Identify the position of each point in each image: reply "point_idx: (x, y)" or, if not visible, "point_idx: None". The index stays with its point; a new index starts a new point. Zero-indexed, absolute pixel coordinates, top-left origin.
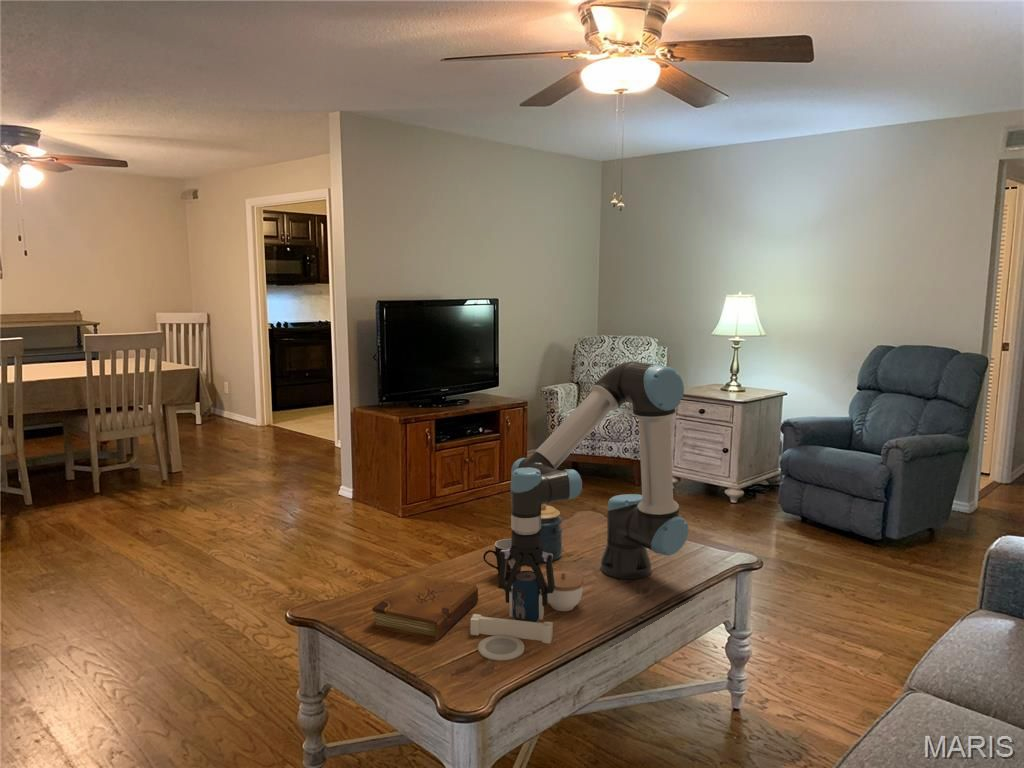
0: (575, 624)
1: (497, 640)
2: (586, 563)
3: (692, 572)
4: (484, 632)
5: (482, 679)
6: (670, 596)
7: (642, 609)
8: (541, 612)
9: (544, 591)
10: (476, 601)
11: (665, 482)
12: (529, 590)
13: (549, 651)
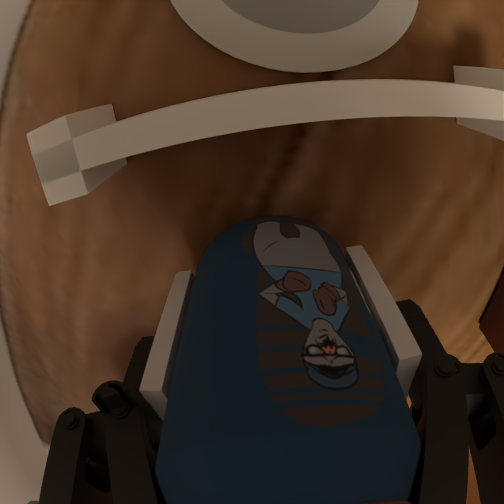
0: (83, 311)
1: (344, 1)
2: None
3: None
4: (438, 81)
5: None
6: (41, 433)
7: (32, 399)
8: (168, 298)
9: (115, 419)
10: (486, 321)
11: None
12: (205, 410)
13: (57, 53)
